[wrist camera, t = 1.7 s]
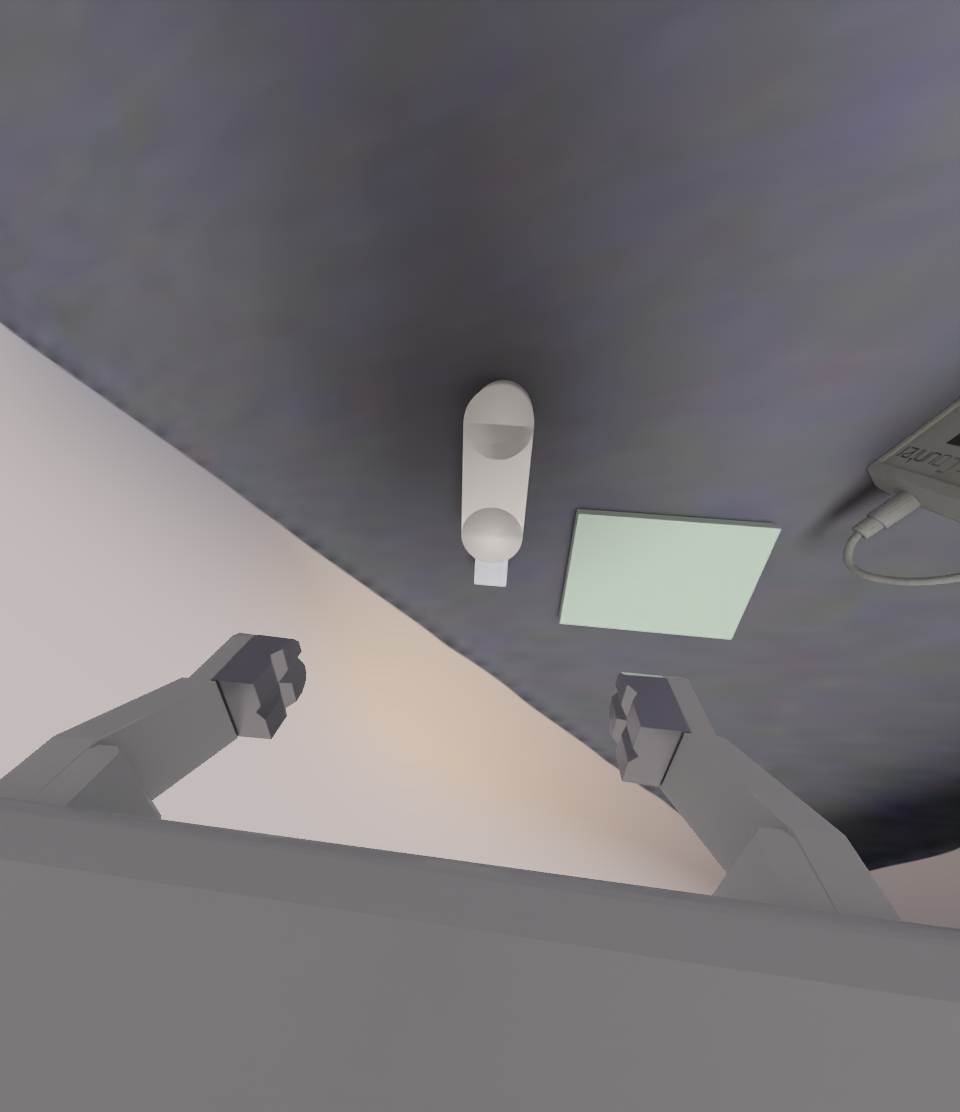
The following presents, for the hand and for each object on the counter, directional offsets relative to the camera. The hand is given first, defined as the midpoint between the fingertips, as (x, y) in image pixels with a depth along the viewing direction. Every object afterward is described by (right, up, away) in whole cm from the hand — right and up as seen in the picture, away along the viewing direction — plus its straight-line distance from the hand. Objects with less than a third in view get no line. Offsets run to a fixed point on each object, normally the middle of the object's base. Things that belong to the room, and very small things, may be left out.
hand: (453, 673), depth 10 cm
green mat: (+15, +2, +21) cm, 25 cm away
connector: (+2, +8, +19) cm, 21 cm away
